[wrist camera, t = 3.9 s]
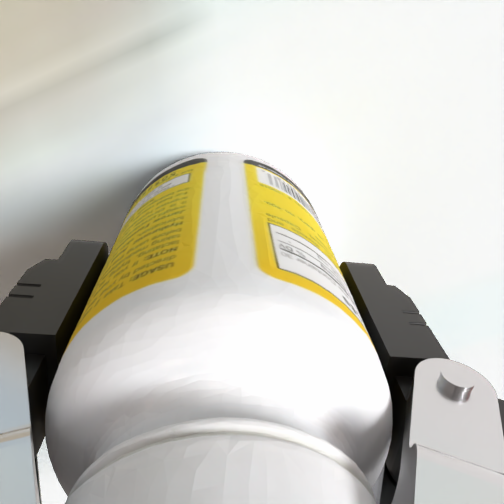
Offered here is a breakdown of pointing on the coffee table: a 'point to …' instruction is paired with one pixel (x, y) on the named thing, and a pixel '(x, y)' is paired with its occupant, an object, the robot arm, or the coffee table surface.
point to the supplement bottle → (220, 354)
